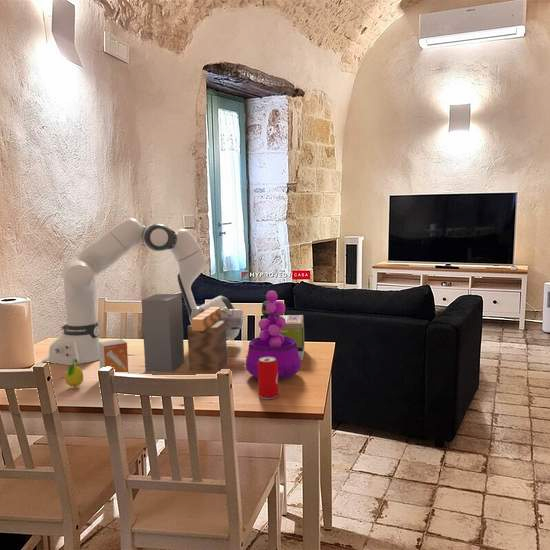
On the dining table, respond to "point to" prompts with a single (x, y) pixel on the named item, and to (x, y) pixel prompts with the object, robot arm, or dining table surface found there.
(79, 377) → the lemon
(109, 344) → the small box
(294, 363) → the decorative plant
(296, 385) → the dining table surface
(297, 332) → the tea box
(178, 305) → the charcoal stand
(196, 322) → the orange bar
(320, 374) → the dining table surface
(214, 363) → the walnut pedestal
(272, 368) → the beverage can
